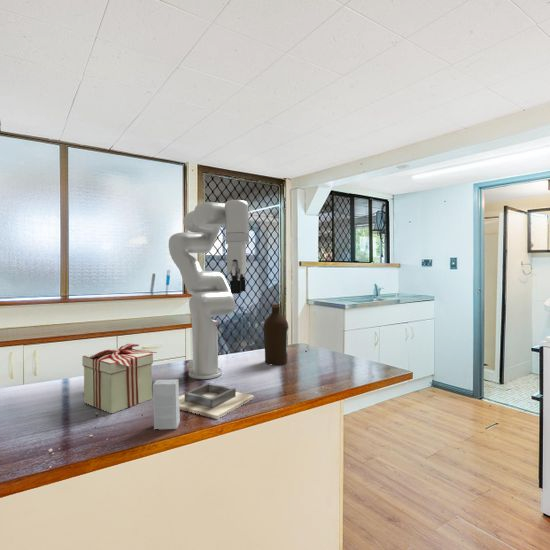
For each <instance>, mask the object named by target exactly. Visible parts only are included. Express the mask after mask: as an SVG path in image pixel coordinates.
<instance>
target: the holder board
mask: <svg viewBox="0 0 550 550" xmlns="http://www.w3.org/2000/svg"><path fill="white" fill-rule="evenodd" d="M236 390H237V389H236V388H233V387H230V386H224V385H220V384H216V383H215V384H214V383H210V382H208V383H205V384H203V385H200V386H198V387H195V388H193V389H192V390H189V391H187V392H184V394H182V395H179V410H180V411H185V412H187V411H188V413H191V412H192V414H195V413H196V415H199V414H200V415H199V416H202V417H207V418H210V417H211V418H212V419H214V420H219V419H221V418H222V416H223V417H224V416H226V415H228V414H230V413H231V412H233V411H235V410H237V409H239V408H241V407H242V406H243V404H244V405H245V404H247V403H248V402H251V401H252V400H254V399H255V396H254V395H253V394H249V393H243V392H240V391H236ZM250 400H251V401H250ZM241 405H242V406H241ZM236 408H237V409H236ZM229 412H230V413H229ZM227 413H228V414H227ZM220 417H221V418H220ZM211 418H210V419H211Z"/></svg>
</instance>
